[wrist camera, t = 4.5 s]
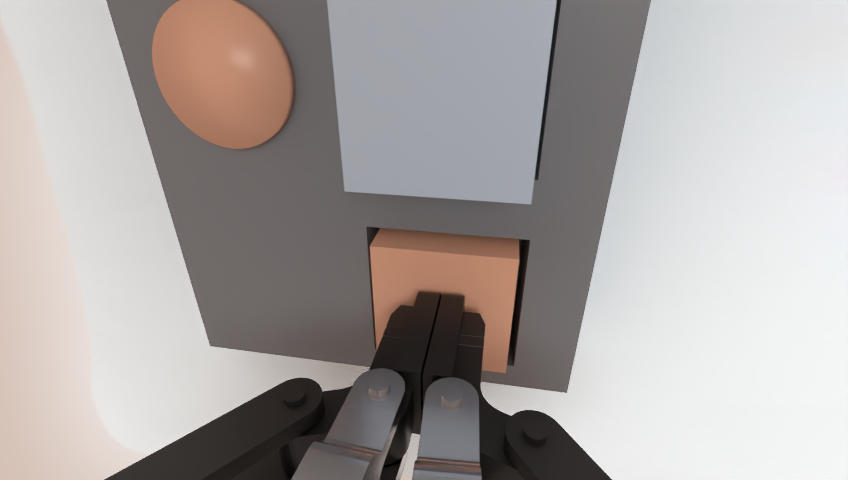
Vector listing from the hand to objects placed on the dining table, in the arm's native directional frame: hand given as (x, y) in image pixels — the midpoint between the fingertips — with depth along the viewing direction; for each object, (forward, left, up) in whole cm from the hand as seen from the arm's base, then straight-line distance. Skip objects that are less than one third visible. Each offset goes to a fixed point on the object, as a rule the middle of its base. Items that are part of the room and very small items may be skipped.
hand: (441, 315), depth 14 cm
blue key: (-7, 0, -1) cm, 7 cm away
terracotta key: (0, 0, -3) cm, 3 cm away
